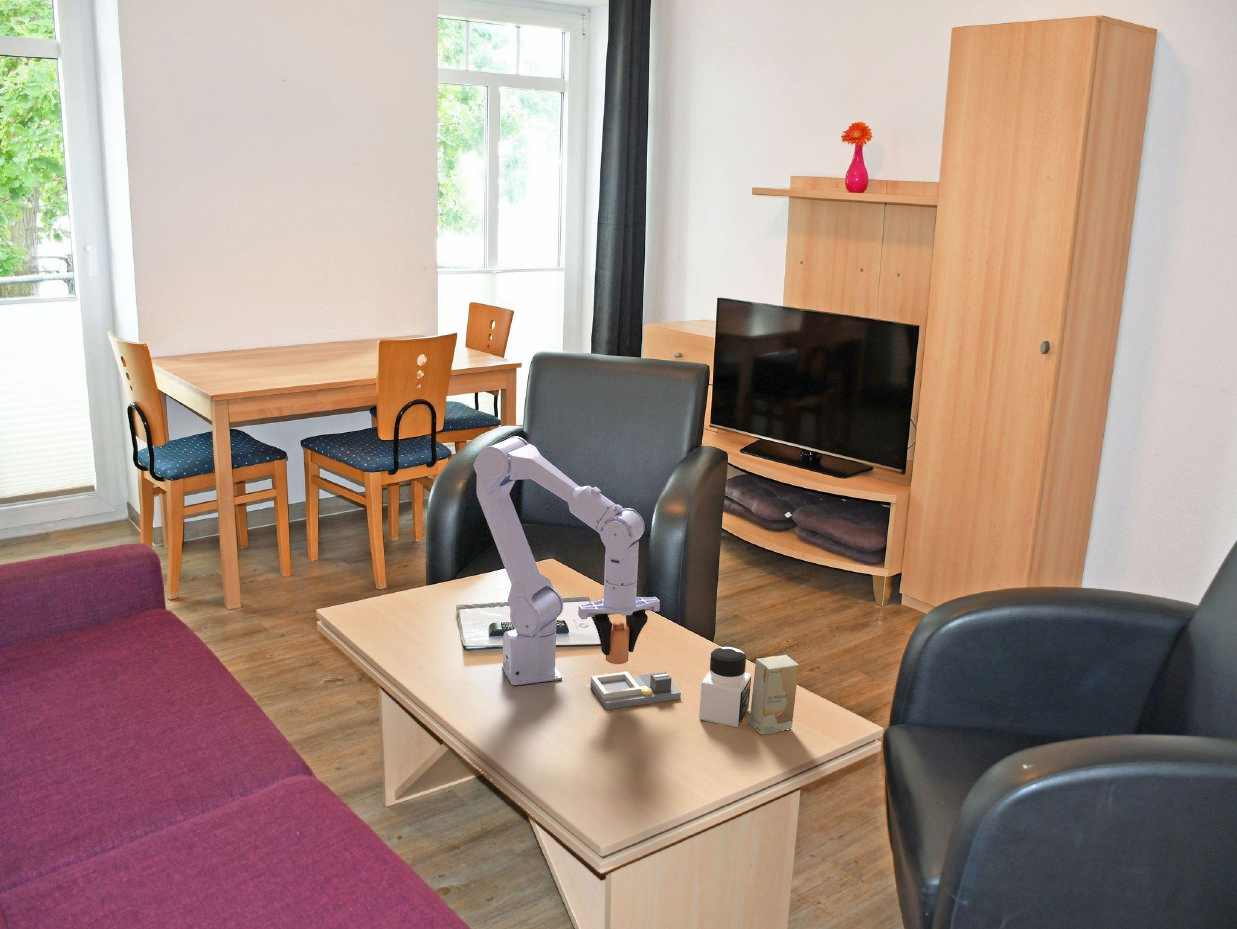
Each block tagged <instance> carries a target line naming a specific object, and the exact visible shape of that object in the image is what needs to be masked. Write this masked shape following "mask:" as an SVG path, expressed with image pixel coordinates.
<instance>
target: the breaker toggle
mask: <svg viewBox="0 0 1237 929" xmlns="http://www.w3.org/2000/svg"><path fill="white" fill-rule="evenodd" d="M662 672H663V671H662ZM655 673H656V674H651V673H650V674H651V677H650V688H651V689H652V690H653V691H654V692H655V693H660V692H668V691H671V682H672V677H671V676H670V675H669V674H668V673H667V671H665V672H663V673H658V672H655Z"/></svg>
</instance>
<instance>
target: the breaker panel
mask: <svg viewBox="0 0 1237 929" xmlns="http://www.w3.org/2000/svg"><path fill="white" fill-rule="evenodd" d="M656 673H663V671H660V672H652V673H646V674H645V673H644V674H643V673H642V674H637V675H631V674H630V673H629V672H628V671H621V672H614V673H607V674H598V675H591V676H590V689H591V690H592V691H593V693H594V694H595V696H596V697H597V698H598V700H599V701H600V702H601V704H602V705H603V706H604V708H605V709H606V710H611V709H619V708H624V707H633V706H639V705H640V706H641V705H646V704H653V703H654V704H655V703H661V702H668V701H675V700H680V699H681V691H680V690H679V689H678V688H677V686H675V684H673V682H672V681H671V691H668V692H660V693H655V692H654V691H653V690H652V689H651V688H650V677H651V674H656Z"/></svg>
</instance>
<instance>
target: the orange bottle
mask: <svg viewBox="0 0 1237 929" xmlns="http://www.w3.org/2000/svg"><path fill="white" fill-rule="evenodd" d="M612 624H613V625H612V629H611V634H610V651H609V655H605V661H606V662H607V663H609V664H612V665H623V664H626V663H627V662H628V661H629V653H630V652H629V632H630V628H629V626H627V625H626V623H624V622H623V621H614V622H613V623H612Z"/></svg>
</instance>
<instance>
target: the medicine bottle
mask: <svg viewBox="0 0 1237 929" xmlns="http://www.w3.org/2000/svg"><path fill="white" fill-rule="evenodd" d="M746 664H747V656H746V653H745V652H744V651H742V650H741V649H738V648H736V647H731V646H721V647H717V648H715V649H713V650H712V651H711V652H710V661H709V671H708V673H707V674H706V676H705V677H704V678H703V680H702V681H701V685H700V688H701V689H700V698H699V699H700V701H699V703H700V704H699V717H698V718H699V720H700V721H705V722H710V723H714V724H719V725H724V726H729V727H734V728H740V726H741V725H742V722H743V721H744V720H745V717H746V716H747V713H748V712H749V709H750V708H749V707H750V698H751V697H750V696H751V685H752V674H751V673H749V672H746Z"/></svg>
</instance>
